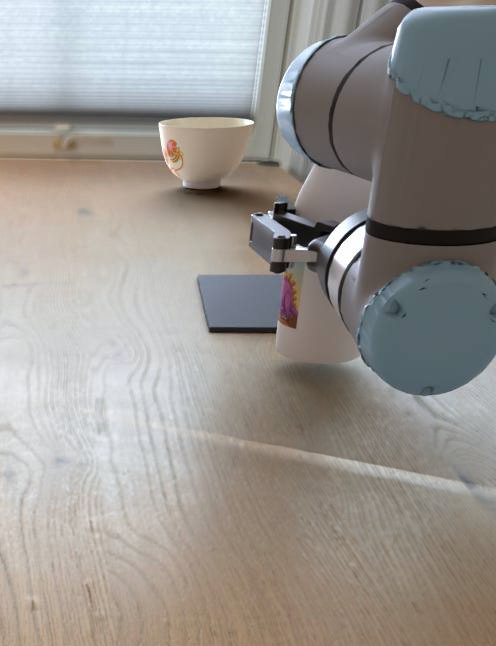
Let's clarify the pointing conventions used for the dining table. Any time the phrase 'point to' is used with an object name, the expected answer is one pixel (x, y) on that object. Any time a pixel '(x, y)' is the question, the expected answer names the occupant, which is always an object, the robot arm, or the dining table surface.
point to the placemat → (241, 302)
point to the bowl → (204, 148)
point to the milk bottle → (303, 284)
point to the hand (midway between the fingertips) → (327, 211)
